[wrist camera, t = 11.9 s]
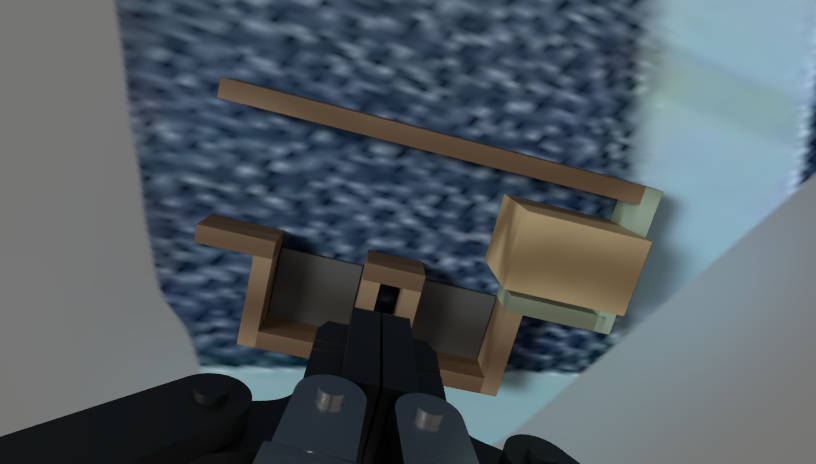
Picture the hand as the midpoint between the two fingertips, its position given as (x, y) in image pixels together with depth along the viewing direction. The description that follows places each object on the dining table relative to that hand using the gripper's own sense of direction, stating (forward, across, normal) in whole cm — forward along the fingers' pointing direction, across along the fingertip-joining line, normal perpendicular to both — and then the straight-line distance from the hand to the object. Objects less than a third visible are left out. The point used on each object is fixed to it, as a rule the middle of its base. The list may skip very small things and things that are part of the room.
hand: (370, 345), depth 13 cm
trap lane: (+23, -4, +4) cm, 24 cm away
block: (+23, -13, +1) cm, 26 cm away
